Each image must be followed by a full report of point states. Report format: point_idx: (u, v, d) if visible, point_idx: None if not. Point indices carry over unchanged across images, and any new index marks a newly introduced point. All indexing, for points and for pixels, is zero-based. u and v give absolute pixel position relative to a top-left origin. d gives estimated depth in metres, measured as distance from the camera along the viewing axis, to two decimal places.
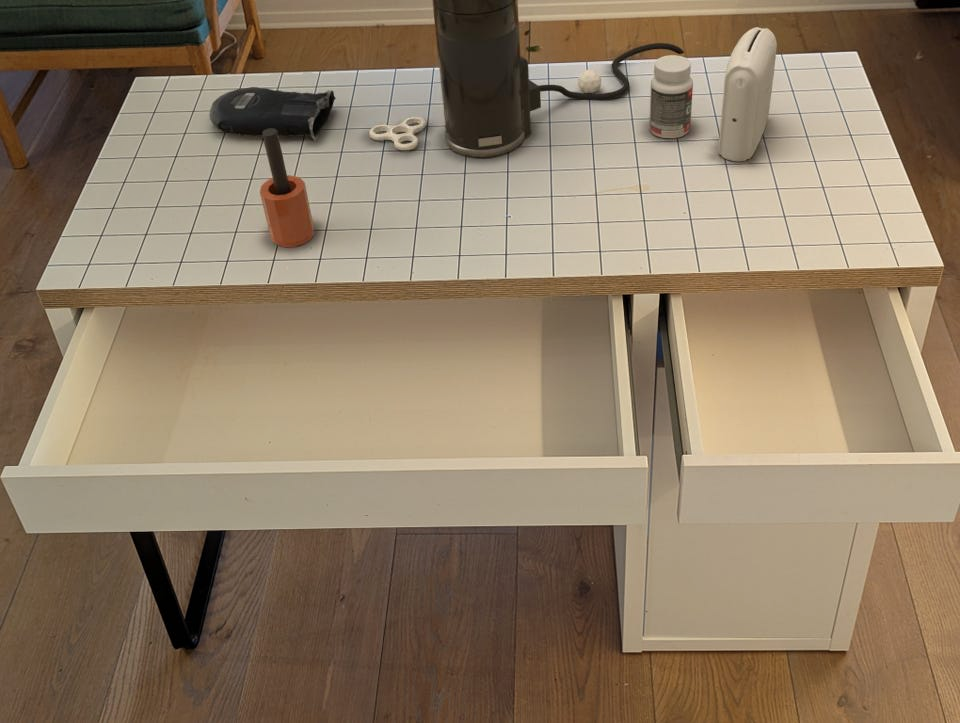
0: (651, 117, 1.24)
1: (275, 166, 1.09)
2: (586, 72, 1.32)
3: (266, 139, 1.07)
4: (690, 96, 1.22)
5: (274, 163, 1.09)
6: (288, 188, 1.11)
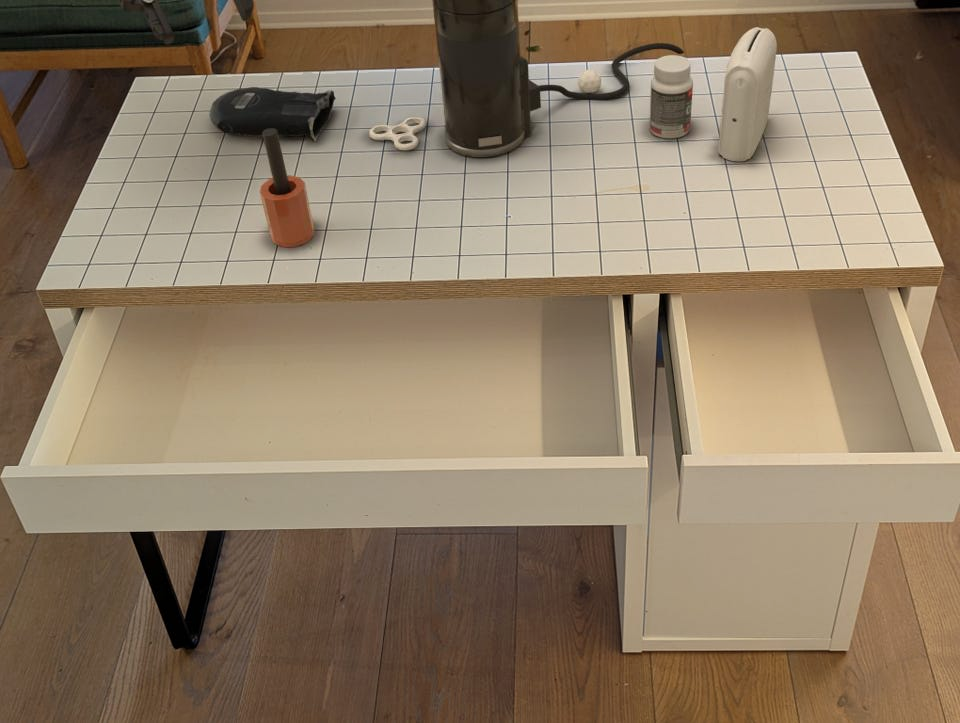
0: (651, 117, 1.24)
1: (275, 166, 1.09)
2: (586, 72, 1.32)
3: (266, 139, 1.07)
4: (690, 96, 1.22)
5: (274, 163, 1.09)
6: (288, 188, 1.11)
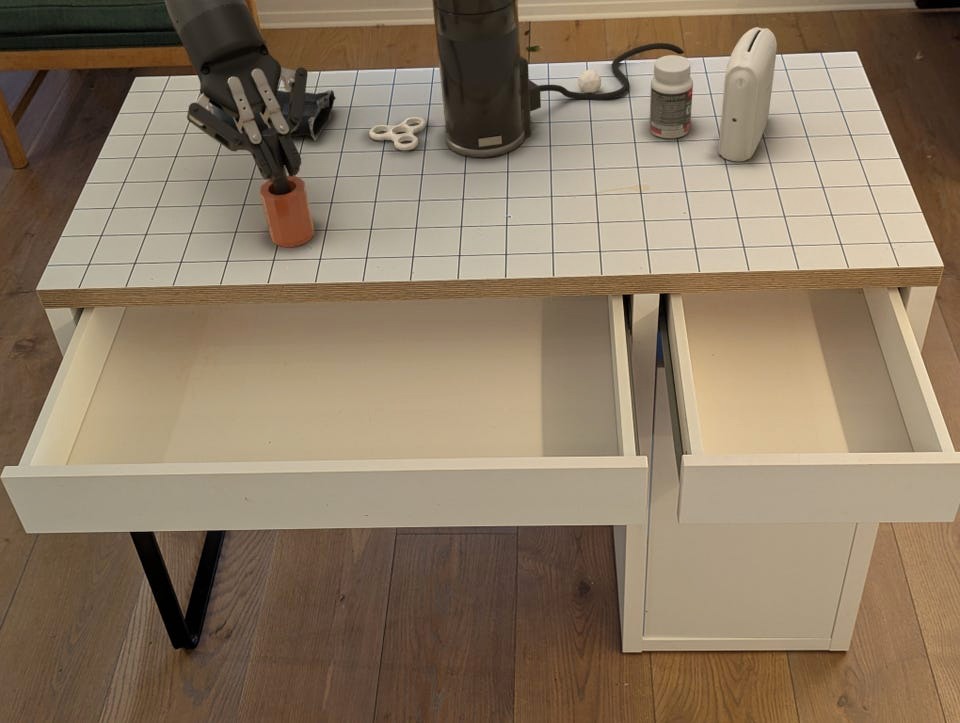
0: (651, 117, 1.24)
1: None
2: (586, 72, 1.32)
3: (266, 139, 1.07)
4: (690, 96, 1.22)
5: None
6: (288, 188, 1.11)
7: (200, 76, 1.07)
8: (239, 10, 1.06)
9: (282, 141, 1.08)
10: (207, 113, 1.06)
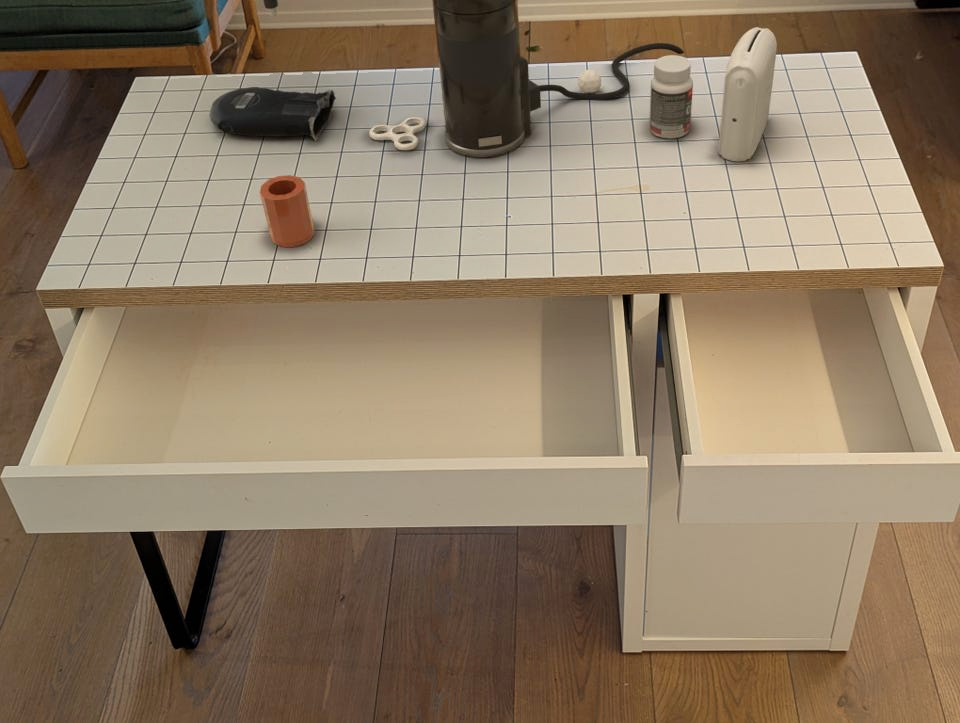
0: (651, 117, 1.24)
1: None
2: (586, 72, 1.32)
3: None
4: (690, 96, 1.22)
5: None
6: None
7: None
8: None
9: None
10: None
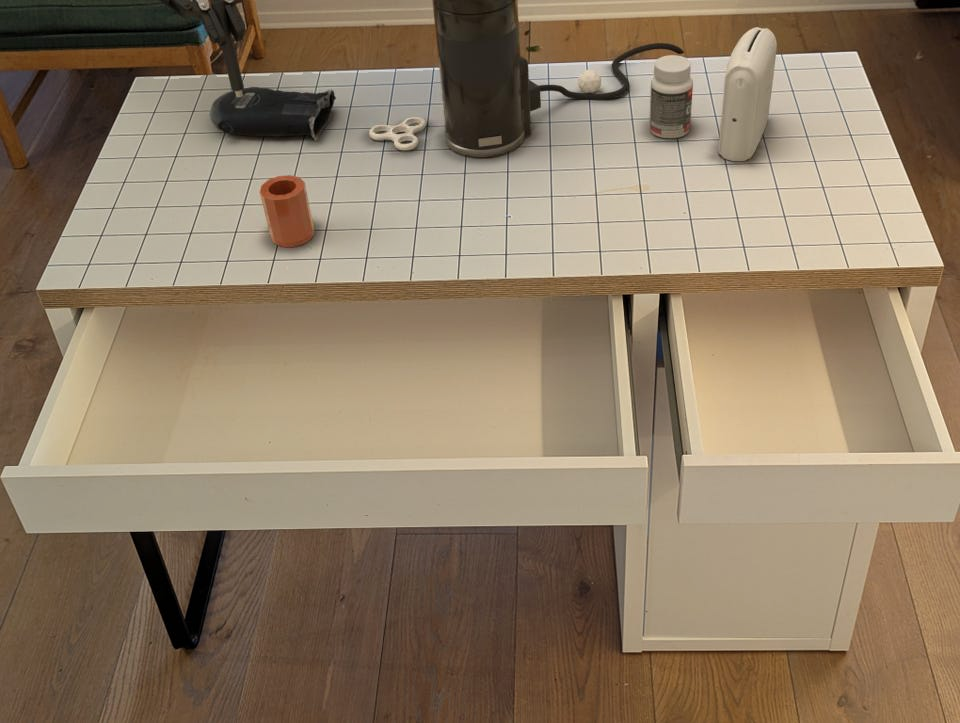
0: (651, 117, 1.24)
1: None
2: (586, 72, 1.32)
3: (213, 6, 1.22)
4: (690, 96, 1.22)
5: None
6: (235, 54, 1.26)
7: None
8: None
9: (228, 9, 1.22)
10: None
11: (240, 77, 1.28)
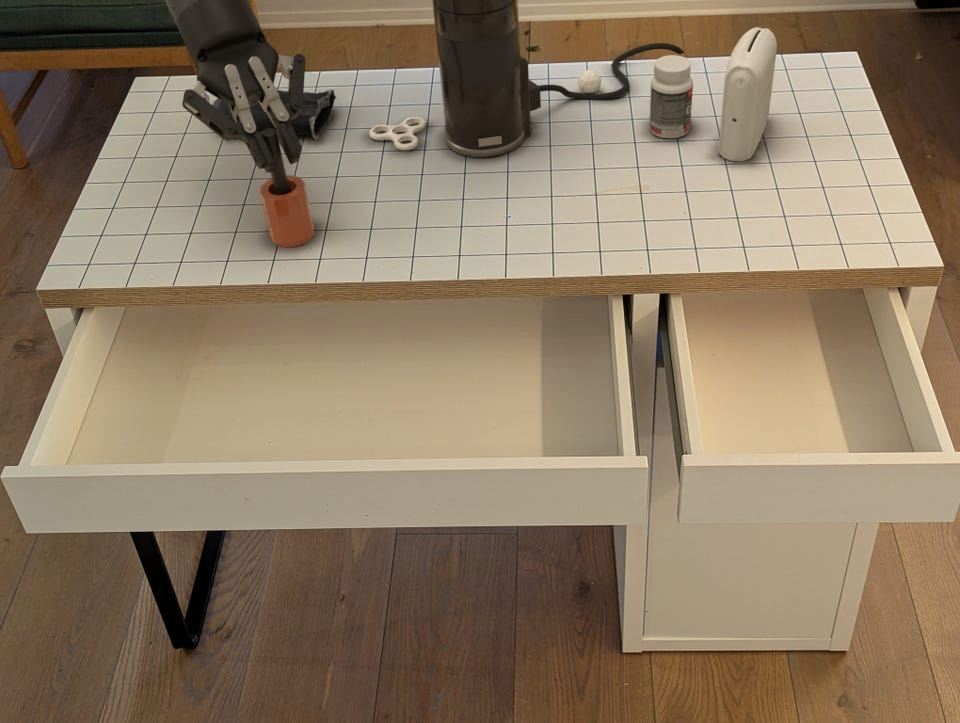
0: (651, 117, 1.24)
1: None
2: (586, 72, 1.32)
3: (265, 139, 1.07)
4: (690, 96, 1.22)
5: None
6: (288, 188, 1.11)
7: (197, 64, 1.06)
8: None
9: (282, 128, 1.07)
10: (202, 100, 1.05)
11: None
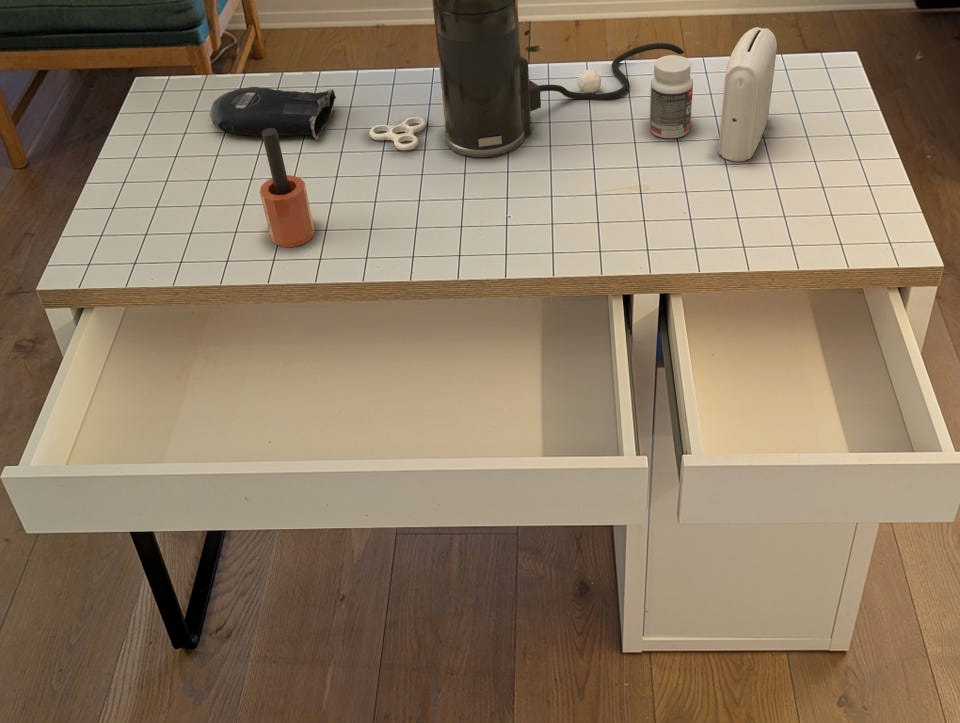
0: (651, 117, 1.24)
1: (275, 166, 1.09)
2: (586, 72, 1.32)
3: (266, 139, 1.07)
4: (690, 96, 1.22)
5: (274, 163, 1.09)
6: (288, 188, 1.11)
7: None
8: None
9: None
10: None
11: None
